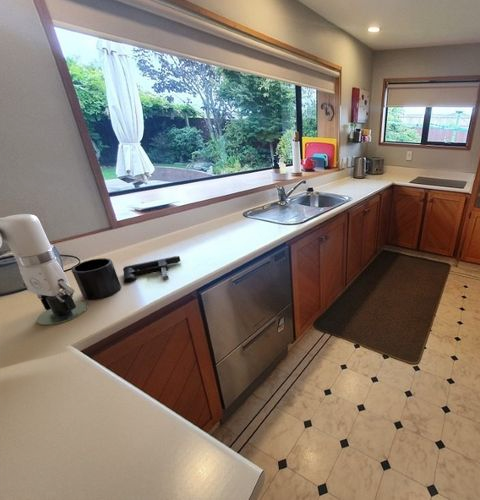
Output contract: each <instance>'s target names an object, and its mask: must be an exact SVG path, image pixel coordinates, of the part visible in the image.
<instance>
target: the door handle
mask: <svg viewBox="0 0 480 500" xmlns="http://www.w3.org/2000/svg"><path fill="white" fill-rule="evenodd" d="M179 262H181V257H180V255H175V256H170V257H163V258H159V259H154V260H150V261H144V262H140V263H135V264H130V265H125V266H124V267H123V269H122V271H123V282H124V283H126V284H129V283H133V282H135V281H136V280H137V277H140V276H145V275H150V274H155V273H159V272H160V273H161V274H162V278H163V281H166V280H169V274H168V271H169V268H168V266H169V265H173V264H178V263H179Z"/></svg>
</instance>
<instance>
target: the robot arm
mask: <svg viewBox="0 0 480 500" xmlns="http://www.w3.org/2000/svg"><path fill="white" fill-rule="evenodd" d="M3 243H6V244H7V246H8V247H9V249H10V251H11V253H12V255H13V258H14V259H15V261H16V264H17V265H18V269H19V272H20V275H21V279H22V280H23V283H24V285H25V287H26V289H27V291H28V292H29V293H30V294H35V295H36V296H37V298H38V299H39V300H40V302H41V303H42V306H43V308H44V310H45V311H47V310H49V309H51V308H50V306H49V304H48V302H47V300H46V298H47V297H48V296H56V297H57V298H58V299H59V300H60V302H59V304H60V306H61V308H62V310H63V312H64V313H67V312H69V311H71V310H73V309H74V308H76V306H75V303H74V302H75V301H74V299H73V295H74V293H75V289H74V288H72V286H71V285H70V281H69V279H68V277H67V275H66V273H65V271H64V270H63V268H62V266H61V265H60V264H59V262H58V260H57V256H56V254H55V252H54V250H53V247H52V245H51V243H50V241H49V239H48V236H47V235H46V232H45V230H44V228H43V225H42V223H41V221H40V219H39V218H38V217H37V216H36V215H34V214H30V213H21V214H20V213H19V214H12V215H7V216H5V217H0V249H1V248H2V246H3ZM61 293H64V295H63V297H62V296H61V295H60V294H61Z"/></svg>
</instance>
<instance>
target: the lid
mask: <svg viewBox="0 0 480 500" xmlns="http://www.w3.org/2000/svg"><path fill="white" fill-rule="evenodd" d="M64 294H65V293H64V292H63V293H61V294H60V295H61V296H62V297H63V295H64ZM46 300H47V302H48V304H49V306H50V308H51V309H49V310H45V311H42V313H40V314H39V315H38V316H37V318H36V323H37V324H38V325H40V326H46V327H48V326H56V325H59V324H64V323H67V322H69V321H72V320H74V319H76V318H78V317H80V316H81V315H82V314H84V313H85V312H86V311H87V310H88V308H89V306H88V303H86V302H85V301H74V303H75V306H76V308H74V309H73V310H71V311H69V312H67V313H64V312H63V310H62V308H61V306H60V304H59V302H60V300H59V299H58V298H57V297H56V296H48V297H47V298H46Z"/></svg>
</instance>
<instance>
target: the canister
mask: <svg viewBox="0 0 480 500" xmlns="http://www.w3.org/2000/svg"><path fill="white" fill-rule="evenodd" d="M70 270H71V272H72V276H73V278H74V280H75V282H76V284H77V286H78V289H79V291H80V293H81V296H82V298H83V299H84V300H85V301H99V300H104V299H107V298H110V297H112V296H115V295H116V294H118V293H119V292H120V291H121V289H122V285H121V283H120V280H119V277H118V274H117V271H116V268H115V265H114V263H113V261H112V259H110V258H106V257H104V258H103V257H102V258H101V257H100V258H93V259H88V260H85V261H82V262H78V263H77V264H75V265H74V266H73V267H72V268H70Z"/></svg>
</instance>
